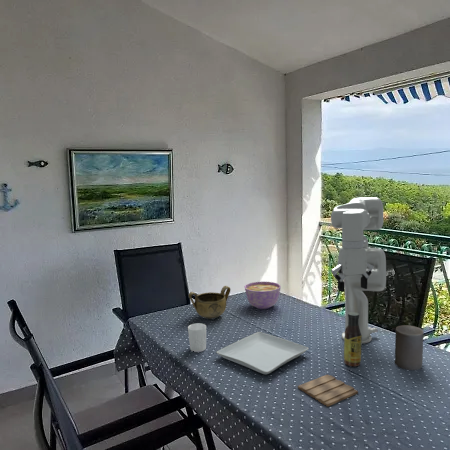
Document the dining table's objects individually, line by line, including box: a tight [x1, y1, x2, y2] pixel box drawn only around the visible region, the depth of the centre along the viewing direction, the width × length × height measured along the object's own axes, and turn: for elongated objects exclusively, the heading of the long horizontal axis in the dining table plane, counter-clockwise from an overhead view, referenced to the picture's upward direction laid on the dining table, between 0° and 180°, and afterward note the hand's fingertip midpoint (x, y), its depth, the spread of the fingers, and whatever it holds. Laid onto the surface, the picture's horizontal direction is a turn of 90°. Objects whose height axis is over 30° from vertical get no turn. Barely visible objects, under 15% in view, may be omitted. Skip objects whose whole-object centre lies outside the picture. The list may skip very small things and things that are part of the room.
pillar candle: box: [394, 324, 425, 371], centre depth 156 cm, size 10×10×15 cm
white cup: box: [187, 322, 207, 353], centre depth 178 cm, size 8×8×10 cm
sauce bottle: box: [343, 312, 362, 367], centre depth 158 cm, size 7×6×20 cm
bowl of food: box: [244, 281, 281, 310], centre depth 229 cm, size 20×20×12 cm
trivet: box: [297, 374, 359, 407], centre depth 141 cm, size 14×14×1 cm
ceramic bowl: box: [188, 285, 231, 320], centre depth 216 cm, size 22×17×15 cm
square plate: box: [215, 331, 309, 375], centre depth 168 cm, size 27×27×4 cm
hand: (352, 289), depth 156 cm, fingers open, 9 cm apart
